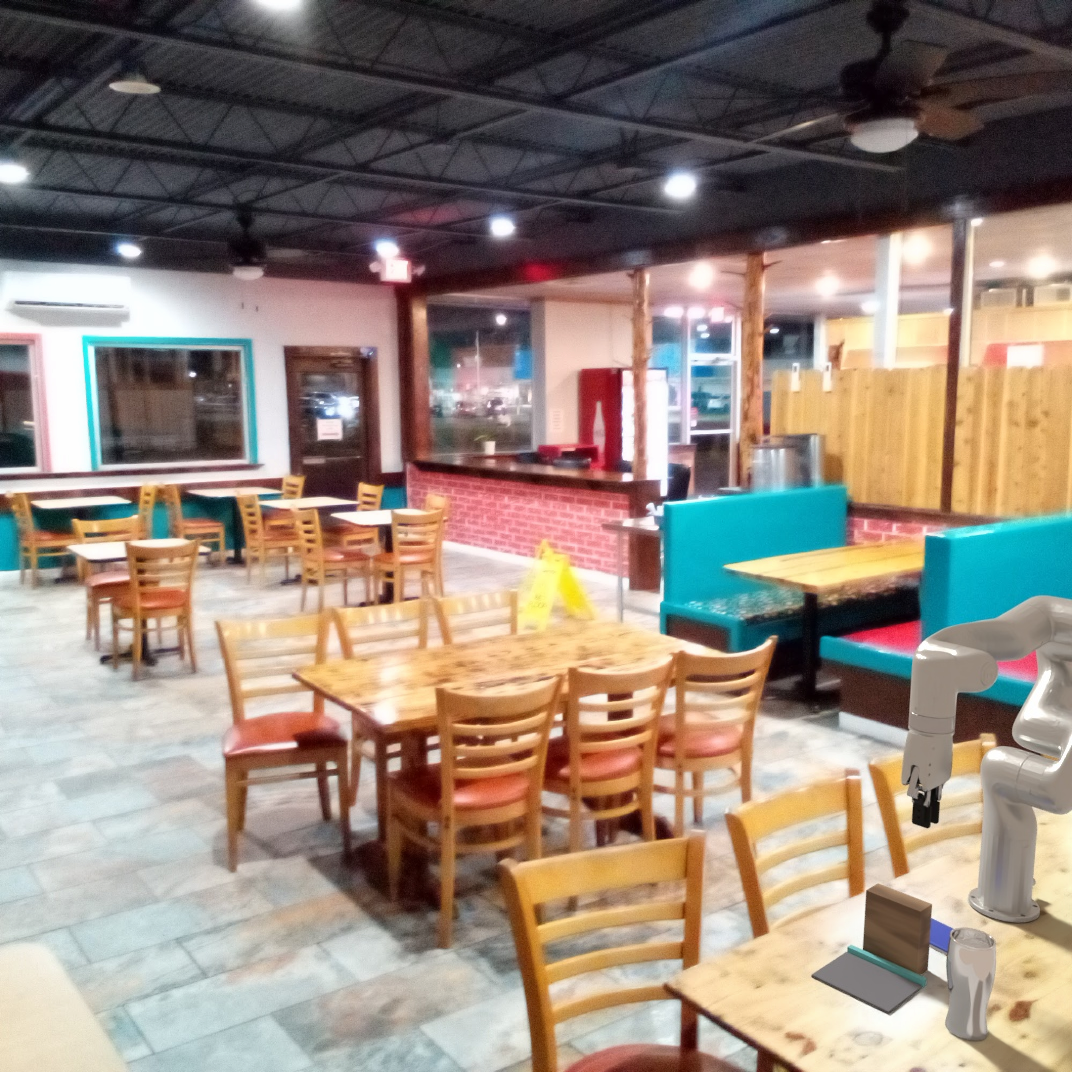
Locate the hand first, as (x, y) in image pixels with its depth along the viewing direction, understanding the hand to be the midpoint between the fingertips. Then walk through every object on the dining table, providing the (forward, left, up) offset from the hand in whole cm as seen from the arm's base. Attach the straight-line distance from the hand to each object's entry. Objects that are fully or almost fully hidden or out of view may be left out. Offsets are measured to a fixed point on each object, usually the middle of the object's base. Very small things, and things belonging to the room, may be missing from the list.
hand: (925, 822), depth 178 cm
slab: (+8, 0, -23) cm, 25 cm away
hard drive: (-5, +3, -24) cm, 25 cm away
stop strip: (+11, 0, -23) cm, 26 cm away
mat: (+18, 0, -23) cm, 29 cm away
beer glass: (+18, +17, -23) cm, 34 cm away
